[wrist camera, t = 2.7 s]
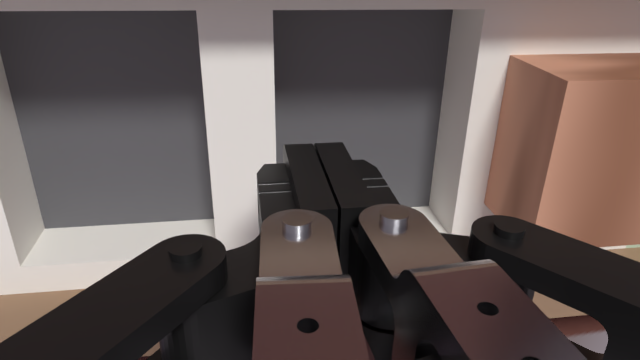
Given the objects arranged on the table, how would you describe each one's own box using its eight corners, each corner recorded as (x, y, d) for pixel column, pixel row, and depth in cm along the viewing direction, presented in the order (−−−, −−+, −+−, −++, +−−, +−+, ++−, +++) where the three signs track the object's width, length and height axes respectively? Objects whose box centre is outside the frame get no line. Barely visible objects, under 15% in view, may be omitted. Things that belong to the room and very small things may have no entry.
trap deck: (941, -67, 18) (1167, -66, 14) (799, 223, 24) (930, 292, 19) (-93, -88, 14) (-252, -97, 9) (16, 279, 19) (-52, 387, 14)
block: (661, 52, 16) (746, 77, 13) (617, 195, 18) (684, 240, 15) (509, 55, 15) (568, 81, 13) (484, 203, 17) (528, 252, 15)
